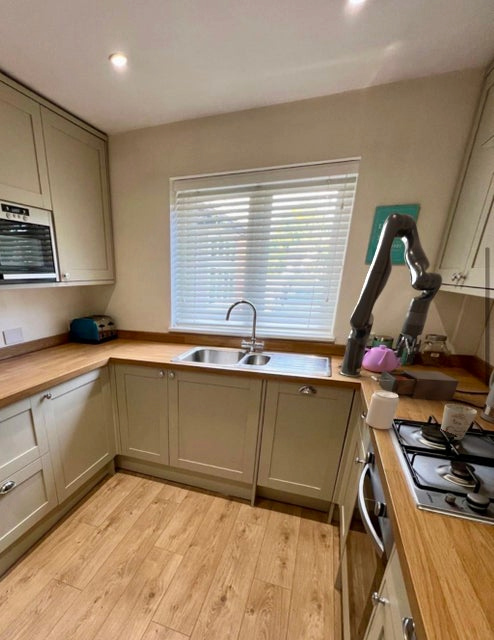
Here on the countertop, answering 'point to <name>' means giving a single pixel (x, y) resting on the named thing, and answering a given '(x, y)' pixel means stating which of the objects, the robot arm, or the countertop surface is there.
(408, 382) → the drawer
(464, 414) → the mug
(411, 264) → the robot arm
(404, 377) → the ramekin
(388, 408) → the white canister
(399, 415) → the countertop surface
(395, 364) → the teapot
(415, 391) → the cabinet
